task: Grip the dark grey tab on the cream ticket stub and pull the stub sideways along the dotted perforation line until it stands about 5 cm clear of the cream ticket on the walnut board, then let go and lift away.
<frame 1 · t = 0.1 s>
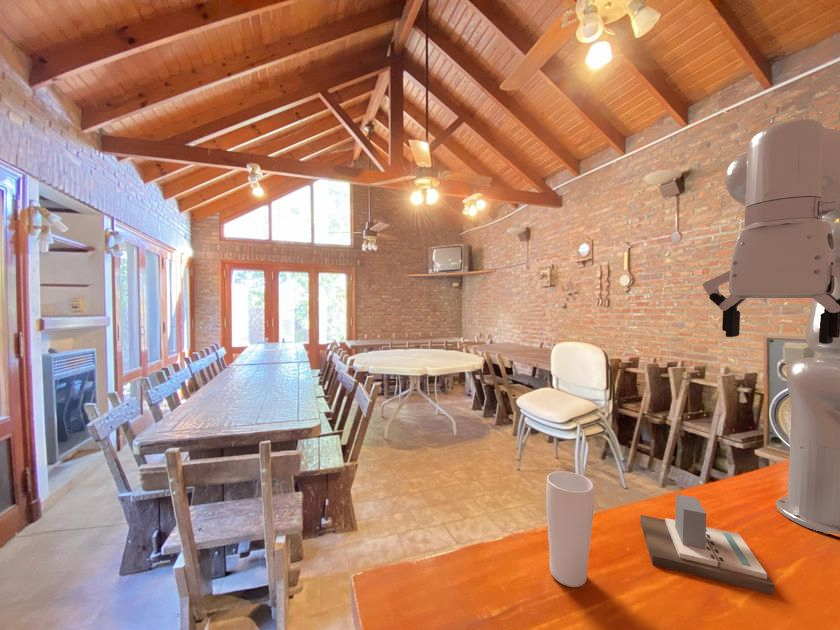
hand: (775, 339, 51), 37 cm above the table, tool pointing down, fingers open, 9 cm apart
stub: (689, 523, 61), point 5 cm above the table, slide at 0.0 cm
drinking glass: (567, 577, 56), on the table
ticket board: (697, 553, 60), on the table
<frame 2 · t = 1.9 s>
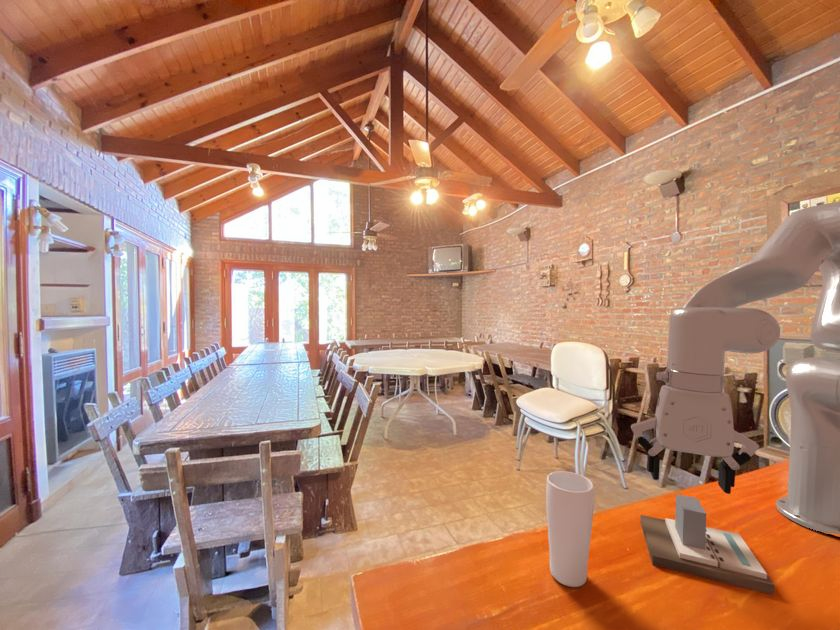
hand: (688, 482, 60), 12 cm above the table, tool pointing down, fingers open, 9 cm apart
nothing on the table moved.
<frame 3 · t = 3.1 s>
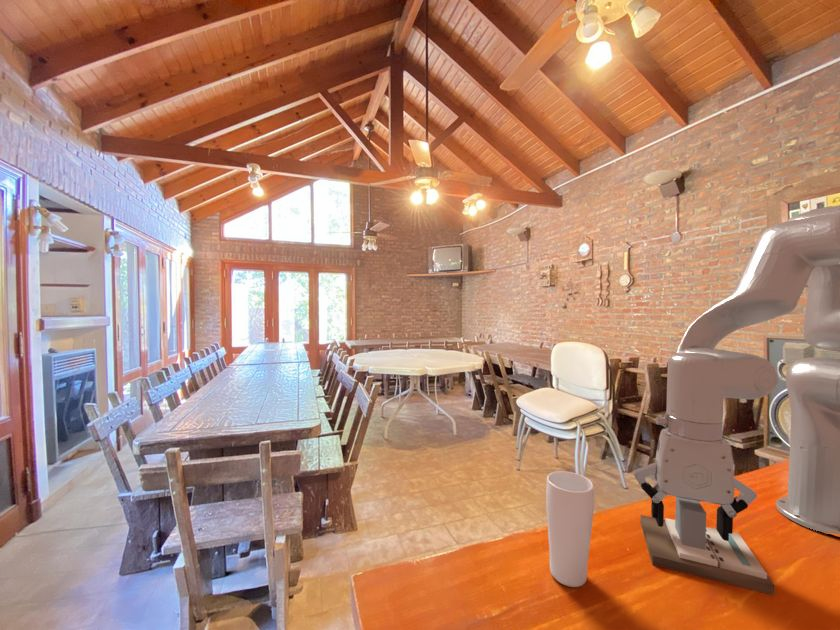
hand: (689, 528, 61), 4 cm above the table, tool pointing down, fingers open, 8 cm apart
nothing on the table moved.
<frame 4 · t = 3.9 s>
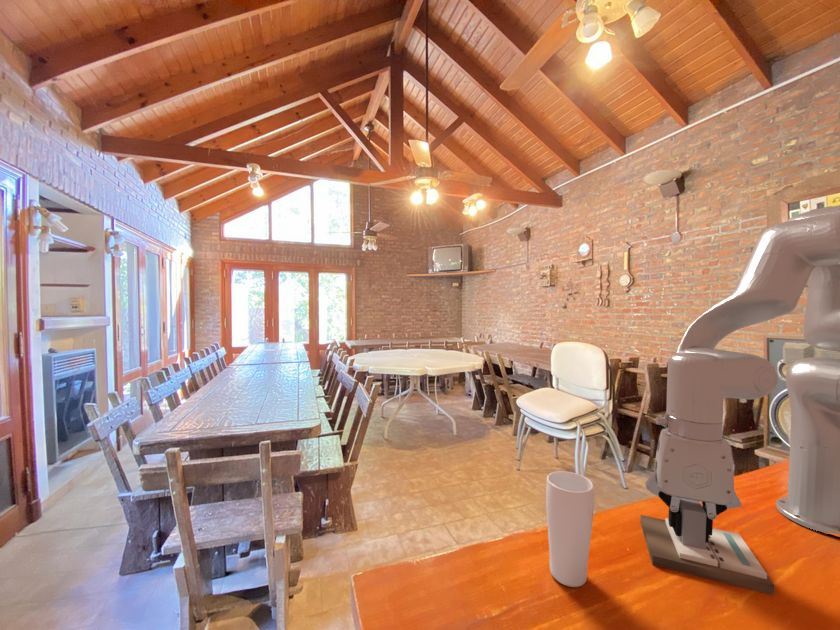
hand: (689, 533, 61), 3 cm above the table, tool pointing down, fingers closed on stub, 3 cm apart
stub: (689, 523, 61), point 5 cm above the table, slide at 0.0 cm, touching gripper
everything else where it was.
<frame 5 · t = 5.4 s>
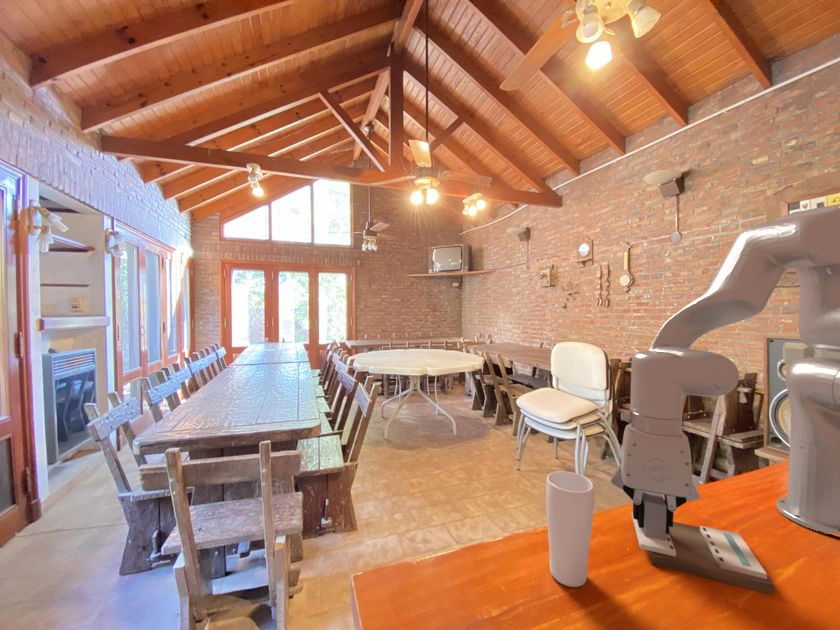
hand: (652, 525, 63), 3 cm above the table, tool pointing down, fingers closed on stub, 3 cm apart
stub: (652, 515, 63), point 5 cm above the table, slide at 5.4 cm, touching gripper
everything else where it was.
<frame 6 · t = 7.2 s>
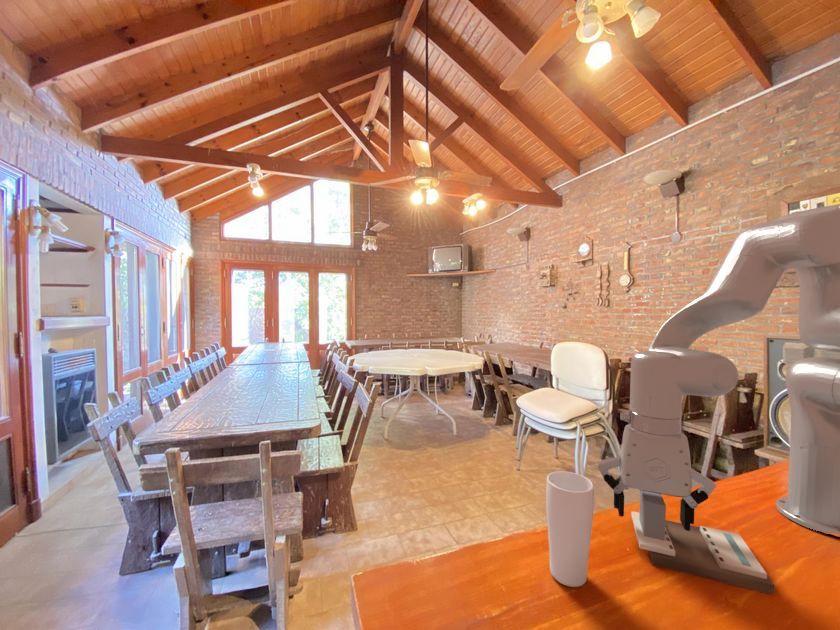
hand: (651, 519, 63), 4 cm above the table, tool pointing down, fingers open, 9 cm apart
stub: (651, 515, 63), point 5 cm above the table, slide at 5.5 cm
everything else where it was.
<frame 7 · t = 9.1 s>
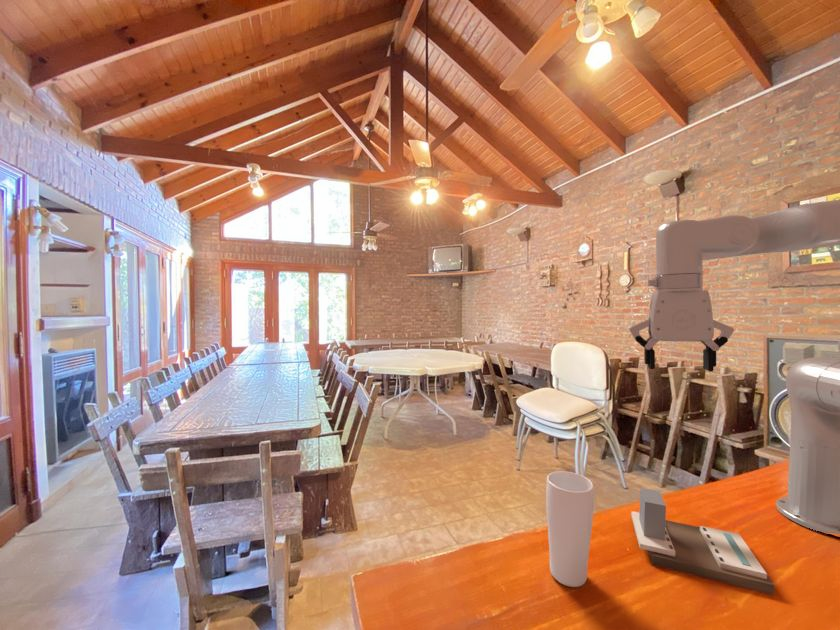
hand: (678, 369, 72), 29 cm above the table, tool pointing down, fingers open, 9 cm apart
nothing on the table moved.
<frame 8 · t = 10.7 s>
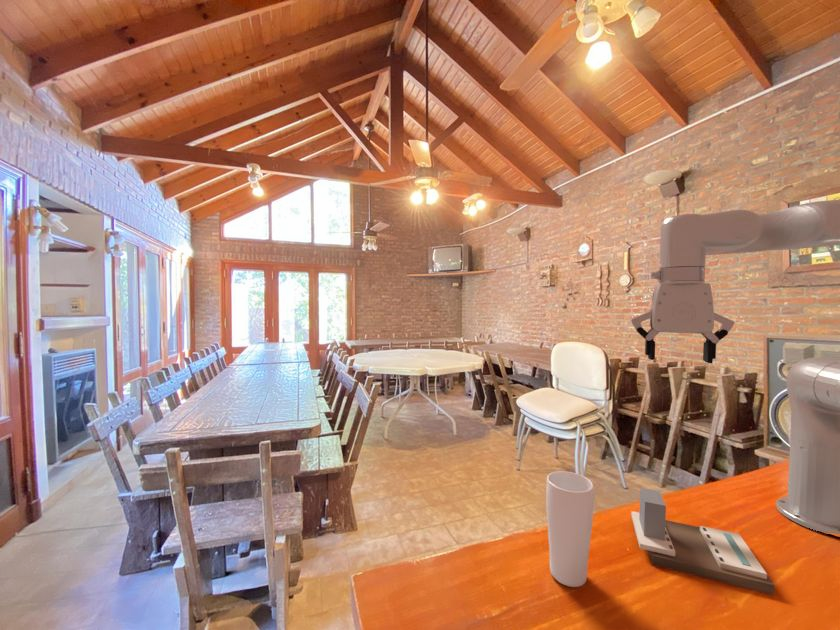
hand: (678, 360, 74), 30 cm above the table, tool pointing down, fingers open, 9 cm apart
nothing on the table moved.
at the end: stub slide at 5.5 cm; the gripper is holding nothing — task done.
